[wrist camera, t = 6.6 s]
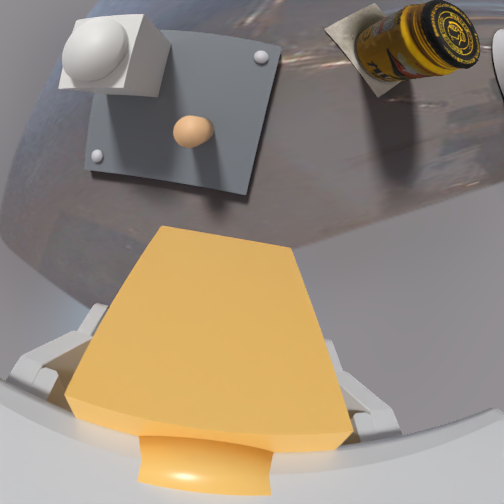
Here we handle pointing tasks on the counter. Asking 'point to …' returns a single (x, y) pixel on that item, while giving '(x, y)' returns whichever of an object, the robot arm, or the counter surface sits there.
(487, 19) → the counter surface
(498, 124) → the counter surface
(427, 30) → the condiment
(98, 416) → the yellow knob block
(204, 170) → the plate
